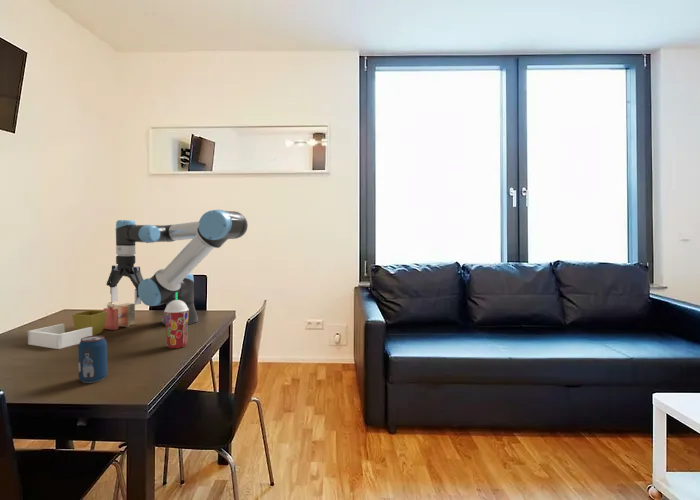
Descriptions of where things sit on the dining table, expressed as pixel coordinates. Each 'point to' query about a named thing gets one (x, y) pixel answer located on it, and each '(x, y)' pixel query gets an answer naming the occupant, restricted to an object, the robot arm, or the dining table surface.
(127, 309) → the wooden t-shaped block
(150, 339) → the dining table surface
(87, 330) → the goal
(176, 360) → the dining table surface
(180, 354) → the dining table surface
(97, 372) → the soda can
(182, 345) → the smoothie
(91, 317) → the flower pot
